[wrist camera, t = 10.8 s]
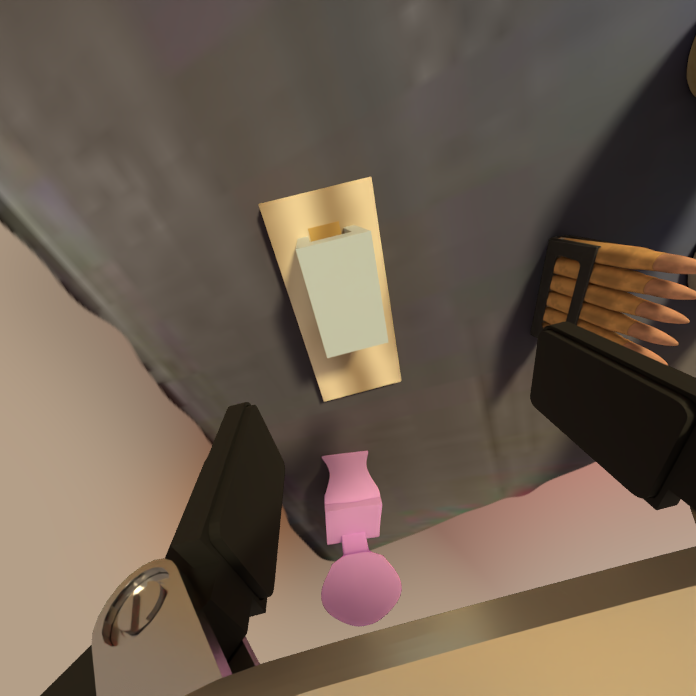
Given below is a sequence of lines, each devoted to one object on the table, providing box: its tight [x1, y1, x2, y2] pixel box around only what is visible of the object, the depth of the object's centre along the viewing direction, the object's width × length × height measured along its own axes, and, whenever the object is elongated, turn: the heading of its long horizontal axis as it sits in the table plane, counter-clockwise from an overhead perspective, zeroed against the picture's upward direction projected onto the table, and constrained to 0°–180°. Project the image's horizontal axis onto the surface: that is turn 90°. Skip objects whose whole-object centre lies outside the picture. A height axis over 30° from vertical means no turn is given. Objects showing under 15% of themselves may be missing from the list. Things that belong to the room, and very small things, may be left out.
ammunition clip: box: [531, 235, 696, 365], centre depth 24 cm, size 11×2×12 cm, turn 8°
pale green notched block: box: [296, 225, 388, 358], centre depth 22 cm, size 5×8×6 cm, turn 12°
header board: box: [258, 177, 401, 402], centre depth 25 cm, size 9×20×5 cm, turn 12°
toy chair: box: [321, 451, 402, 626], centre depth 32 cm, size 8×9×15 cm
